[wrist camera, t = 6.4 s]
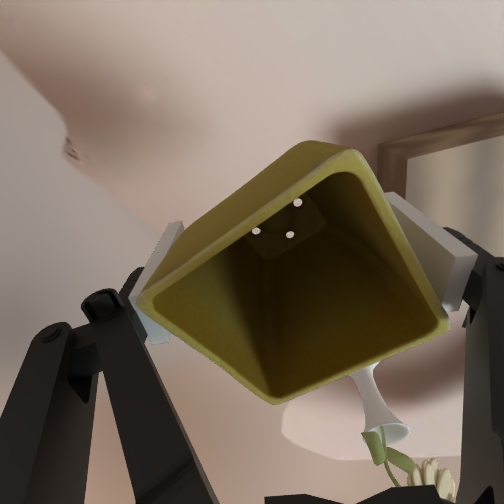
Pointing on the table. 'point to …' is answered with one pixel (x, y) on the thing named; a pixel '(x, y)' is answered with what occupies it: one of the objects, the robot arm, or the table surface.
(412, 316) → the flower pot
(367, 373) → the flower in vase
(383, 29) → the table surface
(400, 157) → the walnut block
